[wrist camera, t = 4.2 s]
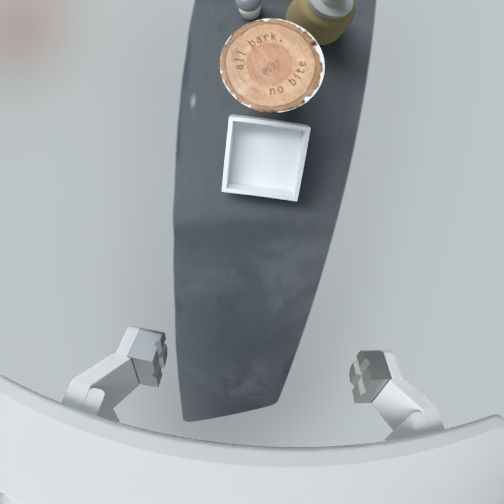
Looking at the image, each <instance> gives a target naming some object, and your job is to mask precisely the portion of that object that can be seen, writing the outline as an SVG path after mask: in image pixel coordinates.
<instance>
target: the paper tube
mask: <svg viewBox="0 0 504 504" xmlns="http://www.w3.org/2000/svg"><path fill="white" fill-rule="evenodd" d="M324 71H325V63H324V57H323V53H322V51H321V48H320V46H319V44H318V43H317V41H316V40H315V39H314V37H313V36H312V35H311V34H310V33H309V32H307V31H306V30H305V29H304V28H302V27H300V26H299V25H297V24H295V23H292V22H290V21H286V20H282V19H273V18H268V19H260V20H256V21H252V22H250V23H247V24H246V25H244V26H242V27H240V28H239V29H238V30H236V31H235V32H234V33H233V34H232V35H231V36H230V37H229V39H228V40H227V42H226V43H225V45H224V47H223V50H222V53H221V57H220V72H221V76H222V79H223V82H224V84H225V86H226V88H227V89H228V91H229V92H230V93H231V94H232V95H233V96H234V97H235V98H236V99H237V100H238V101H239V102H241V103H242V104H244V105H246V106H248V107H250V108H252V109H255V110H258V111H262V112H269V113H278V112H285V111H289V110H292V109H295V108H297V107H299V106H301V105H303V104H304V103H306V102H307V101H308V100H310V99H311V98H312V97H313V96H314V94H315V93H316V92H317V90H318V89H319V87H320V85H321V83H322V80H323V77H324Z"/></svg>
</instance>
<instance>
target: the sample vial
mask: <svg viewBox="0 0 504 504" xmlns="http://www.w3.org/2000/svg"><path fill="white" fill-rule="evenodd" d="M235 2H236V5H237V7H238V8H239V11H240V14H241V16H242V17H243V18H245V19H248V20H253V19H256V18H257V17H258V16H259V15H260V13H261V7H260V4H261V0H235Z"/></svg>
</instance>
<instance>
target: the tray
mask: <svg viewBox="0 0 504 504" xmlns="http://www.w3.org/2000/svg"><path fill="white" fill-rule="evenodd" d="M310 130H311V127H309V126H308V125H306V124H300V123H294V122H288V121H282V120H275V119H268V118H260V117H252V116H243V115H234V114H232V115H230V116H229V123H228V132H227V141H226V151H225V161H224V172H223V182H222V192H229V193H238V194H246V195H254V196H261V197H269V198H276V199H283V200H290V201H297V200H298V195H299V190H300V185H301V179H302V174H303V169H304V163H305V158H306V152H307V147H308V141H309V135H310Z"/></svg>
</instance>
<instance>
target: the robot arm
mask: <svg viewBox="0 0 504 504" xmlns="http://www.w3.org/2000/svg"><path fill="white" fill-rule="evenodd" d="M165 339H166V337H165V333H163V332H159V331H154V330H149V329H144V328H139V327H135V326H129V327H128V329H127V330H126V333H125V335H124V337H123V339H122V341H121V343H120V346H119V348H118V350H117V352H116V354H111V355H110V356H108V357H107V358H105V359H103V360H102V361H100V362H99V363H97V364H96V365H94V366H93V367H91V368H90V369H88V370H86V371H85V372H83V373H82V374H80V375H79V376H77V377H75V378H74V379H73V380H72V381H71V383H70V386H69V387H68V390H67V392H66V394H65V396H64V398H63V400H62V402H61V403H60V402H58V401H55V400H53V399H50V398H48V397H46V396H43V395H41V394H39V393H37V392H34V391H32V390H30V389H28V388H26V387H24V386H22V385H20V384H18V383H16V382H14V381H12V380H10V379H8V378H6V377H4V376H2V375H0V504H504V418H502V417H501V416H500V415H491V416H489V417H486V418H483V419H479V420H477V421H473V422H470V423H467V424H463V425H460V426H456V427H453V428H449V429H444V426H443V423H442V420H441V417H440V414H439V411H438V408H437V407H436V406H435V405H434V404H433V403H432V402H430V401H429V400H428V399H427V398H426V397H425V396H424V395H423V394H422V393H421V392H420V391H418V390H417V389H416V388H415V387H414V386H413V385H412V384H411V383H410V382H408V381H407V380H406V379H403V378H402V375H401V373H400V370H399V367H398V364H397V361H396V359H395V356H394V353H393V352H392V351H380V350H374V351H360V352H359V353H358V355H357V359H358V360H356V361H355V362H353V364H352V366H351V368H350V382H351V383H352V384H353V385H354V386H355V387H354V389H353V396H354V401H355V403H372V405H373V406H374V407H375V408H376V409H377V410H378V412H379V413H380V414H381V416H382V417H383V418H384V420H385V421H386V422H387V423H388V424H389V426H390V427H391V428H392V429H393V432H392V433H391V434H390V435H389V436H388V437H387V438H386V439H385V441H383V442H375V443H366V444H357V445H345V446H329V447H265V446H249V445H238V444H227V443H218V442H211V441H203V440H197V439H190V438H184V437H179V436H174V435H168V434H163V433H159V432H154V431H149V430H146V429H141V428H137V427H133V426H130V425H126V424H122V423H119V419H118V417H117V415H116V413H115V412H114V410H113V408H114V407H115V406H116V405H117V404H118V403H119V402H121V401H122V400H123V399H124V398H125V397H126V396H127V395H129V394H130V393H131V392H132V391H133V390H134V389H135V388H136V387H138V386H139V384H143V385H149V386H154V387H159V384H160V380H161V377H162V372H161V369H162V368H163V367H164V366H165V363H166V359H167V345H166V344H165V343H164V342H165Z"/></svg>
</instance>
